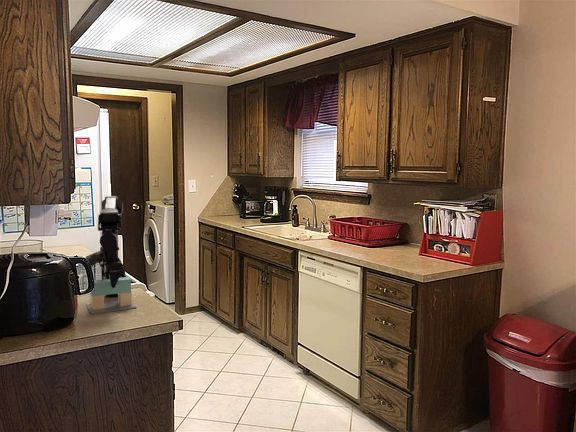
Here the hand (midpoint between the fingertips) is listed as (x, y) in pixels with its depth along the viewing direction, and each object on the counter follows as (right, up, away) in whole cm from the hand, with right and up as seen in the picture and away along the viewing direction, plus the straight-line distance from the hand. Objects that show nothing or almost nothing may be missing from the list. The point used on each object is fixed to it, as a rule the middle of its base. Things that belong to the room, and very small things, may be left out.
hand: (110, 285), depth 185 cm
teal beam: (0, -3, 0) cm, 3 cm away
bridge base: (0, -8, +1) cm, 8 cm away
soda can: (-11, -10, -11) cm, 19 cm away
